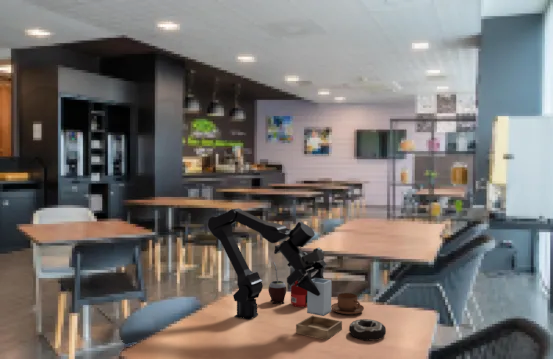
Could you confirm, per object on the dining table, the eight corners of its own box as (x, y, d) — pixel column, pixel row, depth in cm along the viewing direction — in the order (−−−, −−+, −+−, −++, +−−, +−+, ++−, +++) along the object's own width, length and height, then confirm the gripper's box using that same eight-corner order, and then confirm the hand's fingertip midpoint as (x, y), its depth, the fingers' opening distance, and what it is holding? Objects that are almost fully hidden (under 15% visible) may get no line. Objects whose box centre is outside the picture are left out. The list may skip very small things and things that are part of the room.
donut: (383, 344, 152) (383, 331, 152) (345, 339, 156) (345, 326, 156) (388, 331, 163) (388, 319, 163) (352, 327, 167) (352, 315, 167)
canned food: (309, 308, 187) (310, 279, 187) (289, 306, 189) (289, 278, 189) (312, 302, 195) (312, 274, 194) (292, 301, 197) (292, 273, 196)
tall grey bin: (307, 312, 161) (307, 281, 161) (314, 308, 166) (315, 277, 165) (323, 316, 158) (324, 283, 157) (331, 311, 163) (331, 280, 162)
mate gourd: (280, 305, 190) (280, 267, 190) (263, 302, 194) (263, 264, 194) (290, 301, 196) (290, 264, 196) (273, 298, 201) (273, 261, 200)
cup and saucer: (368, 310, 186) (368, 294, 185) (355, 319, 175) (356, 302, 175) (339, 305, 192) (339, 289, 192) (325, 313, 182) (325, 296, 182)
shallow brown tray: (296, 333, 160) (296, 324, 160) (312, 323, 170) (312, 315, 170) (327, 340, 154) (327, 331, 154) (341, 329, 164) (342, 321, 164)
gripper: (295, 244, 155) (326, 284, 150) (322, 236, 171) (351, 272, 166) (273, 266, 159) (303, 305, 154) (301, 256, 175) (329, 292, 170)
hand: (323, 293), depth 161 cm, fingers closed on tall grey bin, 5 cm apart
